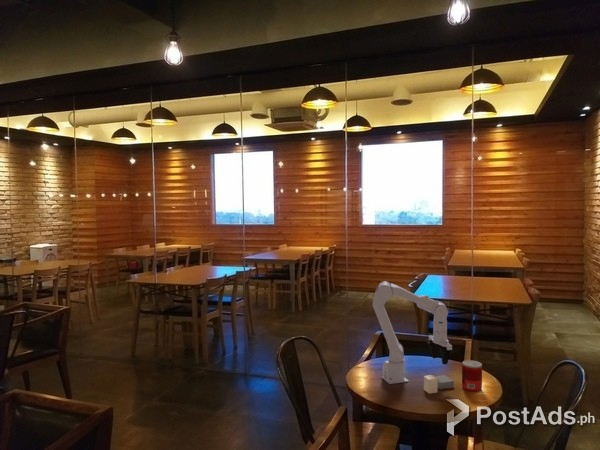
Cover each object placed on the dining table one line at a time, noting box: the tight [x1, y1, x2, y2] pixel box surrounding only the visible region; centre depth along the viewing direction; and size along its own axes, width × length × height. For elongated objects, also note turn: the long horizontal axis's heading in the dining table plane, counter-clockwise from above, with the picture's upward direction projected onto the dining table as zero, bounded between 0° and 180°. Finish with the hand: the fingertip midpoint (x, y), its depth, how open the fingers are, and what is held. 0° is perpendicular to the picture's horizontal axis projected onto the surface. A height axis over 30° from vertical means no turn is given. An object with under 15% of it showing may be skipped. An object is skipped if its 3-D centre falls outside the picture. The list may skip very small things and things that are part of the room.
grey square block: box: [434, 374, 455, 390], centre depth 192 cm, size 7×7×3 cm
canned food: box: [461, 359, 483, 393], centre depth 187 cm, size 8×8×11 cm
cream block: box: [423, 374, 438, 394], centre depth 186 cm, size 4×4×6 cm
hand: (439, 360), depth 194 cm, fingers open, 7 cm apart
